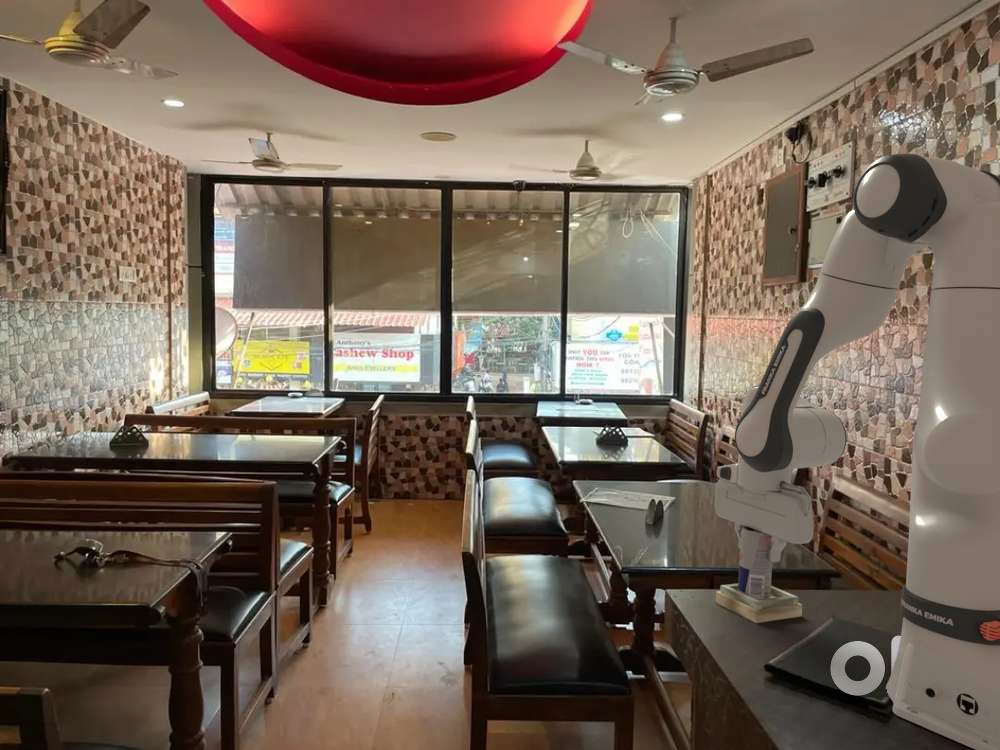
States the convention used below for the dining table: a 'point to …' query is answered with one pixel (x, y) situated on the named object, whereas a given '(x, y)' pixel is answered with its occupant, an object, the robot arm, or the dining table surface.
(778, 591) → the plinth
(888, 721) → the dining table surface
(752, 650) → the dining table surface
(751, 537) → the energy drink
